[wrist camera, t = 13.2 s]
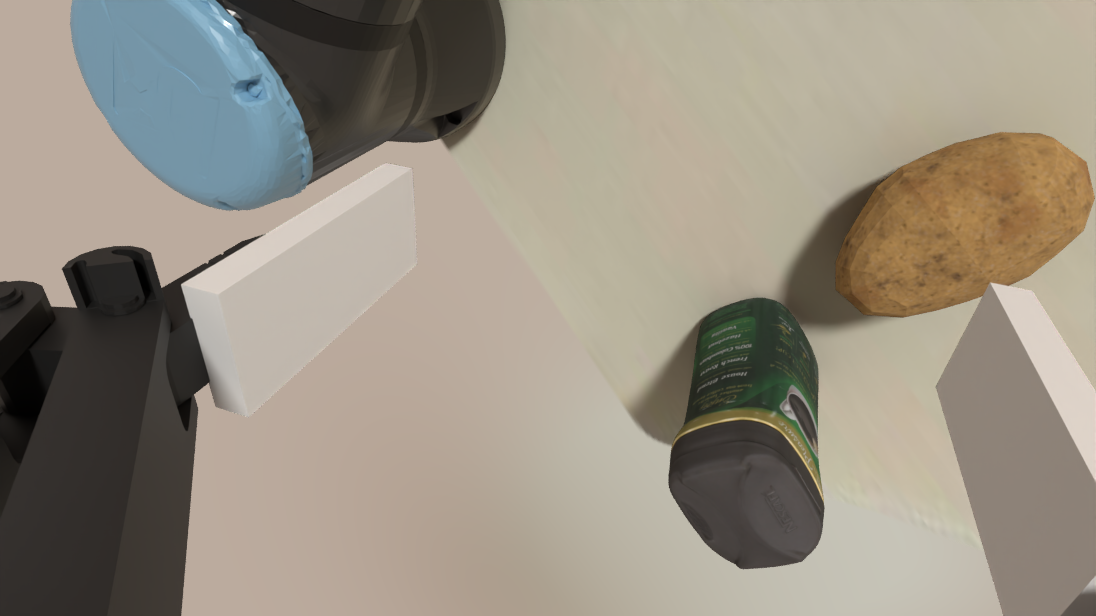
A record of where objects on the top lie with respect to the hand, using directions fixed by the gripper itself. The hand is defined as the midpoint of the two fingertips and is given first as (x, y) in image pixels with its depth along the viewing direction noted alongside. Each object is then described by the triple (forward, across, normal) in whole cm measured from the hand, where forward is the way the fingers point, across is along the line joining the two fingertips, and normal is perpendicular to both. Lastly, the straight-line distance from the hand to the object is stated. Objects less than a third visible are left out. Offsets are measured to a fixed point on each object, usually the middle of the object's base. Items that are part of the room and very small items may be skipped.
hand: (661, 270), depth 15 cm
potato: (+32, -14, +8) cm, 36 cm away
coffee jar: (+32, -6, +22) cm, 39 cm away
